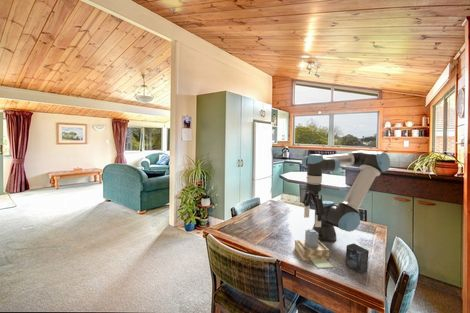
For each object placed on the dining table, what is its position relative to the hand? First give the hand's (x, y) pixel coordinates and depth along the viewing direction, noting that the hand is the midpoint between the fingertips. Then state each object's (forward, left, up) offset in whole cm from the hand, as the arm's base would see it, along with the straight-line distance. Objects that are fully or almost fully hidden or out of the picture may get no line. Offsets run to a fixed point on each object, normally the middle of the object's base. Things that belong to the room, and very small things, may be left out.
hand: (311, 221), depth 118 cm
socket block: (0, 0, -18) cm, 18 cm away
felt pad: (-1, +9, -18) cm, 20 cm away
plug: (0, 0, -18) cm, 18 cm away
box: (-16, +15, -18) cm, 29 cm away
